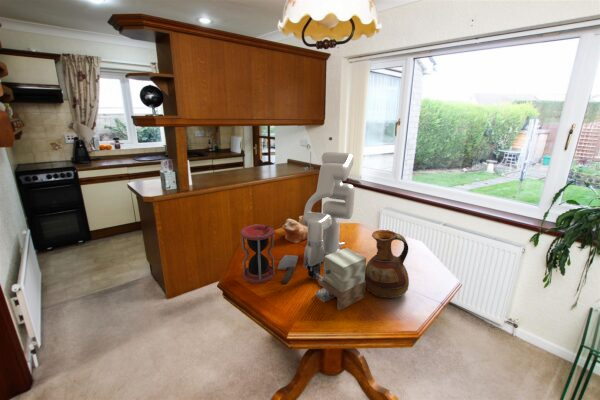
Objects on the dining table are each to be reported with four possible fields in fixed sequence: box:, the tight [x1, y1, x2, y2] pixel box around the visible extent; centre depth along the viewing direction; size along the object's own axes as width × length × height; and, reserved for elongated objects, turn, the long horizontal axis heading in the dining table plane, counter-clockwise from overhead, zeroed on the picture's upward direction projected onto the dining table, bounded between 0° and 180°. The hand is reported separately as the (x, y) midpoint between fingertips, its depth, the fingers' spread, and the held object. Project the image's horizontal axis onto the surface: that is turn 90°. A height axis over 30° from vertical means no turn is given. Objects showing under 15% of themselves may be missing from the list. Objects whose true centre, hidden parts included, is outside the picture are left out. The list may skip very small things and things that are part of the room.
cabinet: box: [318, 247, 367, 311], centre depth 130 cm, size 16×14×20 cm
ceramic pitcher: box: [365, 229, 410, 299], centre depth 133 cm, size 20×20×30 cm
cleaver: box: [277, 254, 299, 285], centre depth 156 cm, size 29×10×2 cm, turn 173°
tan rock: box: [282, 215, 308, 244], centre depth 192 cm, size 14×26×15 cm, turn 133°
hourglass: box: [240, 223, 276, 284], centre depth 146 cm, size 16×16×25 cm
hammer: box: [311, 264, 324, 281], centre depth 139 cm, size 4×22×7 cm, turn 37°
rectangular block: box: [315, 287, 335, 303], centre depth 132 cm, size 6×6×2 cm
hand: (314, 274), depth 147 cm, fingers closed on hammer, 4 cm apart
